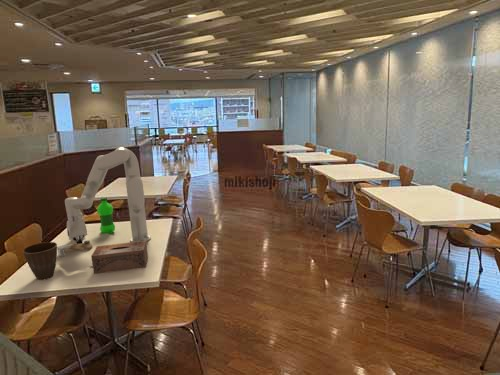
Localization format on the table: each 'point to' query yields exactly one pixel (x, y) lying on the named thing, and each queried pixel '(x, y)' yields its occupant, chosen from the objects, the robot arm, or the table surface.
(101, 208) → the plastic bottle
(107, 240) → the table surface
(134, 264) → the tissue box cover
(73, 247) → the link
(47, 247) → the plant pot
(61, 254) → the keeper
